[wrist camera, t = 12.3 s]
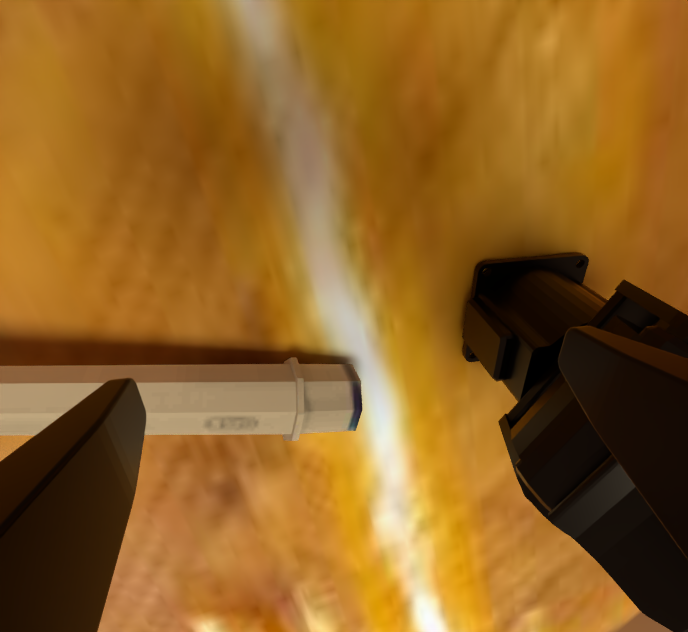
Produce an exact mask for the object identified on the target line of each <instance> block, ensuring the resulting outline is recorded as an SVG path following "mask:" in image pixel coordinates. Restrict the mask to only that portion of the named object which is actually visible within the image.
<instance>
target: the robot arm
mask: <svg viewBox="0 0 688 632" xmlns="http://www.w3.org/2000/svg"><path fill="white" fill-rule="evenodd" d="M579 260H580V261H579ZM578 261H579V263H578V264H577V265H576V263H577V262H578ZM588 262H589V259H588V257H587V256H585V255H583V254H582V253H569V254H557V255H546V256H534V257H523V258H512V259H500V260H489V261H482V262H480V263H479V264H478V265H477V266H476V268H475V273H474V279H473V286H472V293H471V298H470V299H469V301H468V302H467V308H466V315H465V322H464V329H463V336H462V337H463V339H464V346H463V356H464V357H465V359H466V360H467V361H469V362H476V361H480V362H481V363H482V365H483V366H484V368H485V369H486V370H487V372H488V373H489V374H490V376H491V377H492V378H493V379H494V380H496V381H501V380H502V381H503V383H504V384H505V385H506V387H507V388H508V389H509V390H510V392H511V393H512V394H513V396H514V397H515V398H516V400H517V401H518V403H517V404H516V405H515V406H514V407H513V409H512V410H511V411H510V412H509V413H508V414H504V416H503V417H502V418H501V419H500V420H499V421H498V422H499V425H500V428H501V431H502V434H503V437H504V440H505V443H506V446H507V450H508V453H509V456H510V459H511V462H512V465H513V468H514V471H515V474H516V477H517V479H518V482H519V484H520V486H521V488H522V491H523V493H524V495H525V497H526V498H527V499H528V500H529V501H530V502H532V503H533V505H534V506H535V507H536V508H537V509H538V510H539V511H540V512H541V513H542V515H543V516H544V517H546V518H547V519H548V520H549V521H550V522H551V523H552V524H553V525H555V526H556V527H557V528H559V529H560V530H561V531H563V532H564V533H566V534H568V535H569V536H571V537H572V538H573V539H574V540H575V541H576V542H578V543H579V544H580V545H581V546H582V547H583V548H584V549H585V550H586V551H587V552H588V553H589V554H590V555H591V556H592V557H593V558H594V559H595V560H596V561H597V562H598V563H599V564H600V565H601V566H602V567H603V568H604V569H605V571H606V572H607V573H608V574H609V575H610V576H611V577H612V578H613V580H614V581H615V582H616V583H617V584H618V585H619V587H620V588H621V589H622V590H623V591H624V592H625V593H626V595H627V596H628V597H629V598H630V599H631V600H632V602H633V603H634V604H635V605H636V606H637V607H638V609H639V610H640V611H641V612H642V613H643V614H645V615H646V616H648V617H649V618H651V619H653V620H654V621H656V622H658V623H660V624H661V625H663V626H665V627H666V628H668V629H670V630H671V631H673V632H688V315H686V314H684V313H682V312H681V311H679V310H677V309H675V308H673V307H672V306H670V305H668V304H666V303H665V302H663V301H661V300H659V299H658V298H656V297H654V296H652V295H650V294H649V293H647V292H645V291H643V290H642V289H640V288H638V287H636V286H634V285H633V284H631V283H629V282H627V281H626V280H623V281H622V282H621V283H620V284H619V285H618V286H617V288H616V289H615V290H616V292H615V294H614V295H613V296H612V297H611V298H610V299H609V300H606V299H605V298H603V297H602V296H600V295H599V294H597V293H596V292H594V291H593V290H591V289H590V288H588V287H587V286H585V285H584V284H582V283H583V280H584V276H585V273H586V269H587V266H588ZM486 268H488V270H487V272H486V273H483V274H482V272H483V270H484V269H486ZM471 352H473V354H471V355H470V353H471ZM145 427H146V410H145V407H144V404H143V401H142V398H141V395H140V393H139V390H138V387H137V384H136V382H135V381H134V379H132V378H121V379H112V380H109V381H107V382H106V383H104V384H103V385H102V386H100V387H99V388H98V389H96V390H95V391H94V392H92V393H91V394H90V395H88V396H87V397H86V398H84V399H83V400H82V401H80V402H79V403H78V404H76V405H75V406H74V407H72V408H71V409H70V410H68V411H67V412H66V413H64V414H63V415H62V416H60V417H59V418H58V419H56V420H55V421H54V422H52V423H51V424H50V425H48V426H47V427H46V428H44V429H43V430H42V431H40V432H39V433H38V434H36V435H35V436H34V437H32V438H31V439H30V440H28V441H27V442H26V443H24V444H23V445H22V446H20V447H19V448H18V449H16V450H15V451H14V452H12V453H11V454H10V455H8V456H7V457H6V458H4V459H3V460H2V461H0V632H97V631H98V628H99V624H100V620H101V617H102V613H103V609H104V606H105V602H106V599H107V595H108V591H109V588H110V584H111V581H112V577H113V573H114V570H115V566H116V563H117V559H118V555H119V552H120V548H121V544H122V541H123V537H124V534H125V530H126V526H127V523H128V519H129V516H130V512H131V508H132V504H133V500H134V496H135V491H136V486H137V480H138V473H139V467H140V460H141V454H142V447H143V440H144V434H145Z"/></svg>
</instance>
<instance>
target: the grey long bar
mask: <svg viewBox="0 0 688 632" xmlns="http://www.w3.org/2000/svg"><path fill="white" fill-rule="evenodd" d="M121 378H132V379H134V381H135V382H136V384H137V387H138V390H139V393H140V395H141V398H142V401H143V404H144V407H145V410H146V427H145V434H144V435H206V434H282V435H283V439H284V440H288V441H298V439H299V435H300V434H303V433H321V432H338V431H356V428H357V425H358V422H359V418H360V415H361V412H362V395H361V381H360V379H359V377H358V375H357V373H356V371H355V369H354V367H353V365H352V364H299V363H298V360H297V357H290V358H289V359H287V360H286V361H284V363H283V364H203V365H65V366H0V435H36V434H38V433H39V432H40V431H42V430H43V429H44V428H46V427H47V426H48V425H50V424H51V423H52V422H54V421H55V420H56V419H58V418H59V417H60V416H62V415H63V414H64V413H66V412H67V411H68V410H70V409H71V408H72V407H74V406H75V405H76V404H78V403H79V402H80V401H82V400H83V399H84V398H86V397H87V396H88V395H90V394H91V393H92V392H94V391H95V390H96V389H98V388H99V387H100V386H102V385H103V384H104V383H106V382H107V381H109V380H112V379H121Z"/></svg>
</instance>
